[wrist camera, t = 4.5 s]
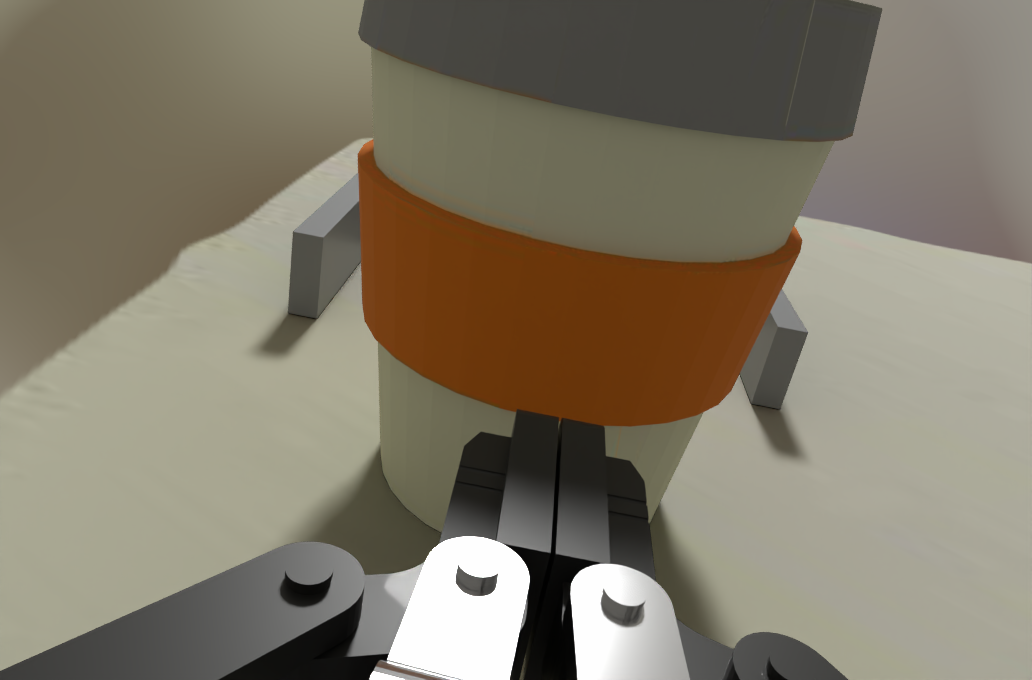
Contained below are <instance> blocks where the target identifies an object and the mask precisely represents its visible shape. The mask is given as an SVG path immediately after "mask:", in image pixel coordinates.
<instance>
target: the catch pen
mask: <svg viewBox="0 0 1032 680" xmlns="http://www.w3.org/2000/svg"><path fill="white" fill-rule="evenodd" d="M360 262H361V241H360V210H359V178H358V173H357V174H356V175H355V176H354V177H353V178H352V179H351V180H349V181H348V182H347V183H346V184H345V185H344V186H343V187H342V188H341V189H339V190H338V191H337V192H336V193H335V194H334V195H333V196H332V197H331V198H330V199H328V200H327V201H326V202H325V203H324V204H323V205H322V206H321V207H320V208H319V209H317V210H316V211H315V212H314V213H313V214H312V215H311V216H310V217H309V218H307V219H306V220H305V221H304V222H303V223H302V224H301V225H300V226H299V227H298V228H296V229H295V230H294V231H293V241H292V257H291V273H290V288H289V304H288V313H291V314H296V315H301V316H306V317H311V318H316V319H317V318H318V317H319V315H320V314H321V313H322V311H323V310H324V309H325V307H326V306H327V305H328V303H329V302H330V301H331V300H332V298H333V297H334V296H335V294H336V293H337V292H338V290H339V289H340V288H341V286H342V285H343V284H344V283H345V281H346V280H347V279H348V277H349V276H350V275H351V273H352V272H353V271H354V269H355V268H356V267H357V266H358V264H359V263H360ZM807 334H808V331H807V330H806V328H805V326H804V325H803V323H802V321H801V320H800V318H799V317H798V315H797V313H796V312H795V310H794V308H793V307H792V305H791V303H790V302H789V300H788V298H787V297H786V295H785V293H784V292H783V290H782V289H781V291H780V293H779V295H778V297H777V299H776V301H775V303H774V305H773V307H772V309H771V311H770V313H769V315H768V317H767V319H766V321H765V323H764V325H763V327H762V329H761V331H760V333H759V335H758V337H757V339H756V341H755V343H754V345H753V347H752V349H751V352H750V354H749V356H748V358H747V360H746V362H745V364H744V366H743V368H742V370H741V372H740V375H741V378H742V381H743V383H744V386H745V389H746V391H747V394H748V397H749V399H750V402H751V404H756V405H761V406H766V407H771V408H776V409H780V408H781V405H782V403H783V400H784V397H785V394H786V392H787V389H788V386H789V383H790V381H791V378H792V375H793V372H794V370H795V367H796V364H797V362H798V359H799V356H800V353H801V351H802V348H803V345H804V342H805V340H806V337H807Z"/></svg>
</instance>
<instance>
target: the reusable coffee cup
mask: <svg viewBox="0 0 1032 680" xmlns="http://www.w3.org/2000/svg"><path fill="white" fill-rule="evenodd" d="M881 12H882V8H879V7H876V6H872V5H867V4H863V3H859V2H855V1H850V0H365V2H364V7H363V12H362V17H361V22H360V27H359V32H358V33H359V36H360V38H361V40H362V41H364V42H365V43H367V44H368V45H370V46H371V56H372V98H373V140H371V141H369V142H367V143H365V144H364V145H363V147H362V148H361V150H360V151H359V153H358V178H359V210H360V241H361V273H362V304H363V312H364V319H365V322H366V324H367V326H368V327H369V329H370V331H371V332H372V334H373V336H374V338H375V339H376V340H377V341H378V362H379V405H380V449H381V462H382V470H383V474H384V476H385V478H386V480H387V482H388V484H389V487H390V489H391V490H392V492H393V493H394V494H395V495H396V497H397V498H398V499H399V500H400V501H401V503H402V504H403V505H404V506H405V507H406V508H407V509H408V510H409V511H410V512H412V513H413V514H414V515H415V516H417V517H418V518H419V519H420V520H421V521H423V522H424V523H425V524H427V525H428V526H430V527H432V528H434V529H435V530H437V531H439V532H441V533H442V530H443V526H444V522H445V518H446V514H447V510H448V507H449V503H450V499H451V495H452V491H453V487H454V484H455V479H456V475H457V472H458V468H459V464H460V460H461V456H462V452H463V448H464V445H466V444H467V443H468V442H469V441H470V440H471V439H473V438H474V437H475V436H476V435H477V434H478V433H480V432H486V433H491V434H496V435H501V436H506V437H511V434H512V429H513V424H514V420H515V415H516V411H517V409H520V410H525V411H530V412H536V413H541V414H546V415H551V416H556V417H559V424H560V421H561V419H562V418H567V419H572V420H577V421H582V422H587V423H592V424H597V425H602V426H604V427H605V446H606V456H609V457H614V458H619V459H624V460H629V461H631V462H632V464H633V465H634V467H635V468H636V470H637V471H638V472H639V474H640V475H641V477H642V478H643V480H644V481H645V489H646V498H647V503H646V506H647V507H648V516H649V520H648V523H650V522H651V520H652V517H653V515H654V513H655V511H656V509H657V507H658V505H659V503H660V501H661V499H662V497H663V495H664V493H665V491H666V489H667V487H668V484H669V482H670V480H671V478H672V476H673V474H674V472H675V470H676V468H677V466H678V464H679V462H680V460H681V458H682V456H683V453H684V451H685V449H686V447H687V445H688V443H689V441H690V439H691V437H692V435H693V433H694V431H695V429H696V427H697V425H698V423H699V420H700V418H701V416H702V414H703V412H705V411H707V410H708V409H710V408H712V407H714V406H716V405H718V404H719V403H720V402H721V401H722V400H723V399H724V398H725V397H726V396H727V395H728V393H729V392H730V391H731V390H732V388H733V386H734V384H735V382H736V380H737V378H738V376H739V374H740V372H741V370H742V368H743V366H744V364H745V362H746V360H747V358H748V356H749V354H750V352H751V349H752V347H753V345H754V343H755V341H756V339H757V337H758V335H759V333H760V331H761V329H762V327H763V325H764V323H765V321H766V319H767V317H768V315H769V313H770V311H771V309H772V307H773V305H774V303H775V301H776V299H777V297H778V295H779V293H780V291H781V289H782V287H783V285H784V283H785V281H786V279H787V277H788V275H789V273H790V271H791V269H792V267H793V265H794V263H795V261H796V259H797V257H798V255H799V253H800V250H801V244H802V239H801V237H800V235H799V233H798V231H797V229H796V228H795V227H794V224H795V222H796V220H797V218H798V216H799V214H800V212H801V210H802V208H803V206H804V204H805V201H806V200H807V197H808V195H809V193H810V191H811V189H812V187H813V185H814V183H815V181H816V179H817V177H818V174H819V173H820V171H821V169H822V166H823V164H824V162H825V160H826V158H827V156H828V154H829V152H830V150H831V148H832V146H833V144H834V142H835V141H838V140H843V139H846V138H848V137H851V136H852V135H853V131H854V127H855V122H856V118H857V114H858V110H859V105H860V101H861V97H862V93H863V89H864V84H865V80H866V75H867V72H868V67H869V63H870V59H871V54H872V50H873V46H874V42H875V37H876V34H877V29H878V25H879V21H880V17H881ZM558 428H559V426H558Z"/></svg>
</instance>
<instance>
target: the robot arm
mask: <svg viewBox="0 0 1032 680" xmlns="http://www.w3.org/2000/svg"><path fill="white" fill-rule="evenodd" d="M558 426H559V428H558ZM646 503H647V498H646V489H645V481H644V480H643V478H642V477H641V475H640V474H639V472H638V471H637V470H636V468H635V467H634V465H633V464H632V462H631V461H629V460H624V459H619V458H614V457H609V456H606V446H605V427H604V426H602V425H597V424H592V423H587V422H582V421H577V420H572V419H567V418H562V419H561V421H560V424H559V417H556V416H551V415H546V414H541V413H536V412H530V411H525V410H520V409H517V411H516V415H515V420H514V424H513V429H512V434H511V437H506V436H501V435H496V434H491V433H486V432H480V433H478V434H477V435H476V436H475V437H474V438H473V439H471V440H470V441H469V442H468V443H467V444H466V445H464V448H463V452H462V456H461V460H460V464H459V468H458V472H457V475H456V479H455V484H454V487H453V491H452V495H451V499H450V503H449V507H448V510H447V514H446V518H445V522H444V526H443V530H442V534H441V538H440V542H439V544H438V546H437V547H436V548H434V549H433V550H432V552H431V553H430V554H429V556H428V558H427V560H426V561H425V562H424V563H422V564H420V565H418V566H416V567H415V568H412V569H409V570H406V571H402V572H398V573H390V574H376V575H365V574H364V571H363V568H362V566H361V565H360V563H359V562H358V561H357V559H356V558H355V557H354V556H352V555H351V554H350V553H348V552H347V551H345V550H343V549H341V548H339V547H336V546H334V545H331V544H326V543H321V542H298V543H292V544H288V545H284V546H282V547H279V548H276V549H274V550H272V551H270V552H267V553H265V554H263V555H261V556H258V557H256V558H254V559H252V560H249V561H247V562H245V563H243V564H240V565H238V566H236V567H234V568H231V569H229V570H227V571H225V572H222V573H220V574H218V575H216V576H213V577H211V578H209V579H207V580H204V581H202V582H200V583H198V584H195V585H193V586H191V587H189V588H186V589H184V590H182V591H180V592H177V593H175V594H173V595H171V596H168V597H166V598H164V599H162V600H159V601H157V602H155V603H153V604H150V605H148V606H146V607H143V608H141V609H139V610H137V611H134V612H132V613H130V614H128V615H125V616H123V617H121V618H119V619H116V620H114V621H112V622H110V623H107V624H105V625H103V626H101V627H98V628H96V629H94V630H92V631H89V632H87V633H85V634H83V635H80V636H78V637H76V638H74V639H71V640H69V641H67V642H65V643H62V644H60V645H58V646H56V647H53V648H51V649H49V650H47V651H44V652H42V653H40V654H38V655H35V656H33V657H31V658H29V659H26V660H24V661H22V662H20V663H17V664H15V665H13V666H11V667H8V668H6V669H4V670H2V671H0V680H519V678H520V674H521V670H522V666H523V662H524V658H525V668H524V679H523V680H848V679H847V678H846V677H845V676H844V675H843V674H841V673H840V672H839V671H838V670H837V669H836V668H835V667H834V666H832V665H831V664H830V663H829V662H828V661H827V660H826V659H825V658H823V657H822V656H821V655H820V654H819V653H817V652H816V651H815V650H813V649H812V648H810V647H809V646H807V645H805V644H804V643H802V642H800V641H798V640H796V639H793V638H791V637H788V636H785V635H781V634H777V633H770V632H759V633H753V634H750V635H747V636H745V637H744V638H742V639H741V640H740V641H739V642H738V643H737V644H736V646H735V648H734V649H731V648H729V647H727V646H725V645H723V644H720V643H718V642H716V641H714V640H711V639H709V638H707V637H705V636H703V635H701V634H699V633H697V632H695V631H693V630H692V629H690V628H689V627H687V626H685V625H684V624H683V623H682V622H680V621H679V620H678V619H677V618H676V617H675V613H674V608H673V605H672V602H671V600H670V598H669V596H668V595H667V593H666V592H665V591H664V589H663V588H662V587H661V586H660V585H659V584H658V583H657V582H656V578H655V569H654V560H653V551H652V543H651V534H650V525H649V523H648V520H649V516H648V507H647V506H646ZM525 654H526V657H525Z"/></svg>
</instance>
